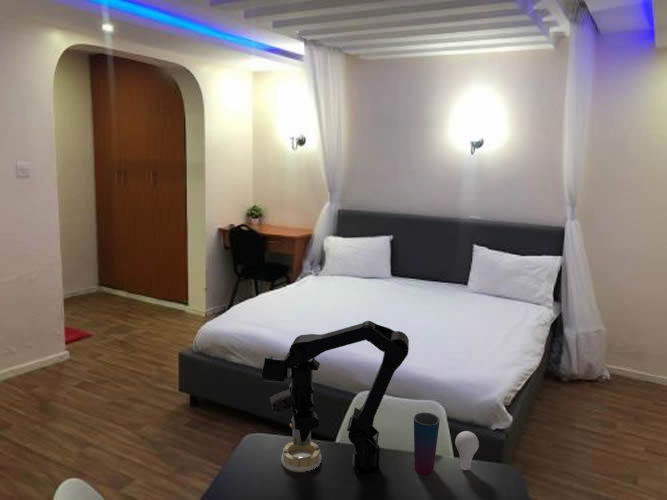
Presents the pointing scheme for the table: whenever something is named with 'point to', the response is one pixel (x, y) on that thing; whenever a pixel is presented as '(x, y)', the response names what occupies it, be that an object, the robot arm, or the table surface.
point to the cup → (425, 442)
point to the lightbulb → (466, 448)
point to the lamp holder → (301, 457)
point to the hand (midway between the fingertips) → (301, 436)
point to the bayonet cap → (297, 437)
